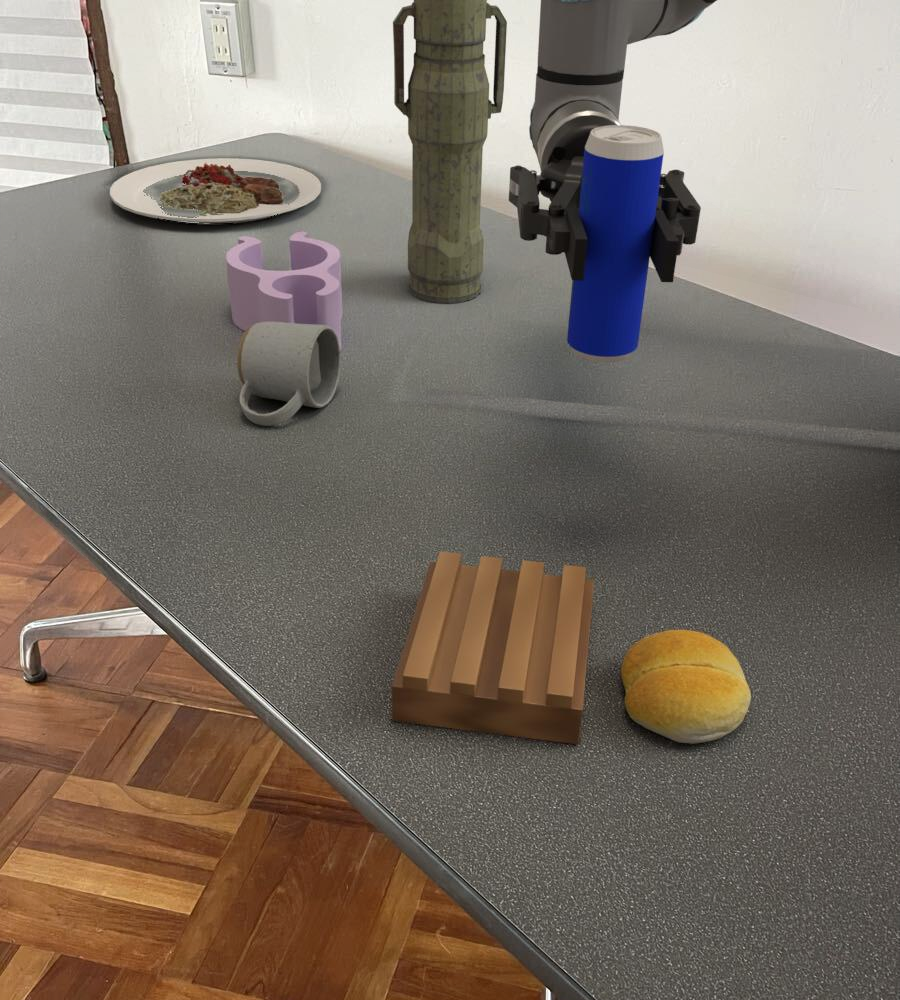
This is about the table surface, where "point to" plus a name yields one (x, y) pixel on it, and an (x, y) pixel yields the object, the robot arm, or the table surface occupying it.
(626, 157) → the beverage can
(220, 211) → the plated food
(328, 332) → the ceramic mug
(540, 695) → the rack
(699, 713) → the bread roll
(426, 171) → the olive green vase
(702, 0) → the robot arm
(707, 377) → the table surface
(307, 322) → the clip
